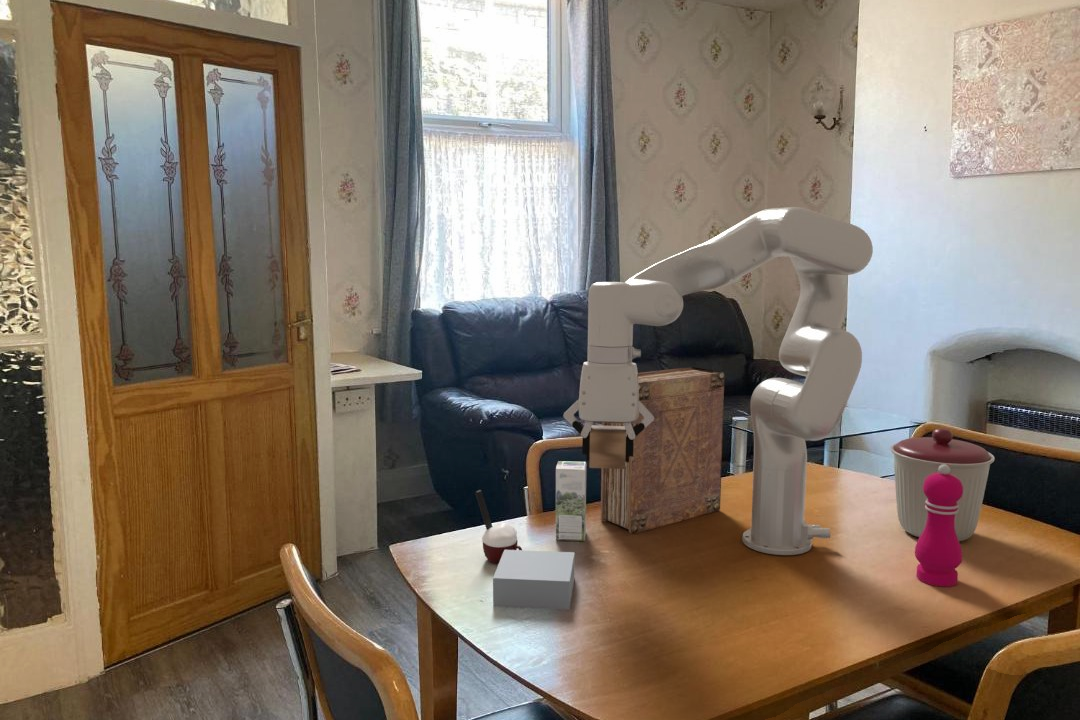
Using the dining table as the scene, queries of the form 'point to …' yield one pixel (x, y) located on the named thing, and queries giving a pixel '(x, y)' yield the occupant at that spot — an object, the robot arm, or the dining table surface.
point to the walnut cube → (607, 447)
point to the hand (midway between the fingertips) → (607, 458)
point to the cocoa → (496, 535)
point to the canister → (925, 458)
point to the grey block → (534, 579)
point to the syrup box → (570, 501)
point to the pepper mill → (940, 530)
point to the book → (670, 453)
